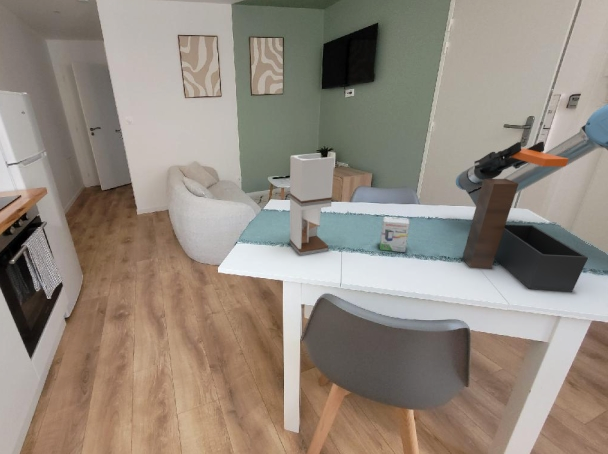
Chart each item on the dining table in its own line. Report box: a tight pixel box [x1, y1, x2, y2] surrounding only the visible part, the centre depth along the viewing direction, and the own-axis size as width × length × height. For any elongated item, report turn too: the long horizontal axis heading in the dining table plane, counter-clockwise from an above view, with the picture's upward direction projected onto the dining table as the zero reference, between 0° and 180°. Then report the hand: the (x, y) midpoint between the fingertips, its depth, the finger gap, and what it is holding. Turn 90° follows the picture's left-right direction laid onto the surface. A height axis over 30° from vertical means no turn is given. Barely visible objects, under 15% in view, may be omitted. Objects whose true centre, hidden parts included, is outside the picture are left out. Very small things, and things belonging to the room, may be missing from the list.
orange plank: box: [511, 148, 568, 167], centre depth 85 cm, size 18×5×2 cm, turn 167°
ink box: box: [379, 216, 411, 253], centre depth 107 cm, size 9×5×12 cm, turn 68°
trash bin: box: [494, 223, 589, 293], centre depth 90 cm, size 22×10×11 cm, turn 167°
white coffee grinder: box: [289, 152, 335, 256], centre depth 107 cm, size 11×11×35 cm
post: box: [461, 178, 518, 269], centre depth 91 cm, size 6×6×28 cm
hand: (530, 146), depth 86 cm, fingers closed on orange plank, 5 cm apart
